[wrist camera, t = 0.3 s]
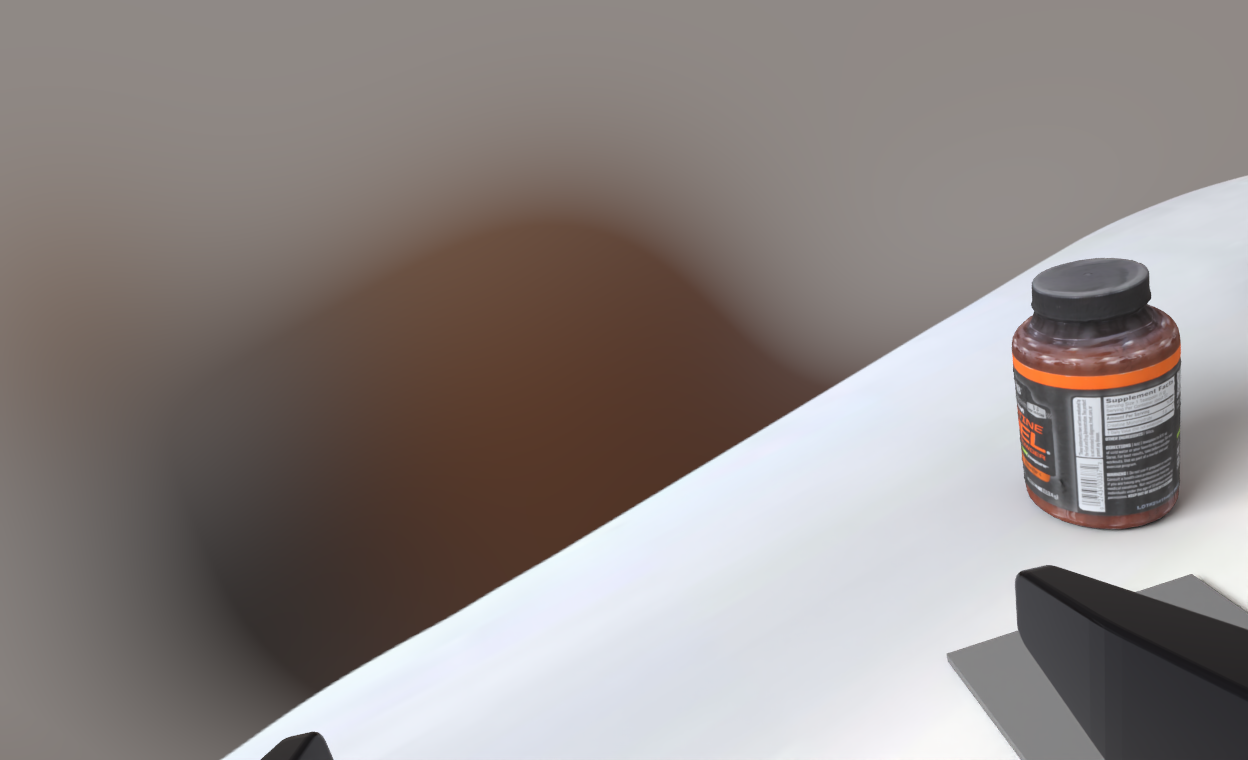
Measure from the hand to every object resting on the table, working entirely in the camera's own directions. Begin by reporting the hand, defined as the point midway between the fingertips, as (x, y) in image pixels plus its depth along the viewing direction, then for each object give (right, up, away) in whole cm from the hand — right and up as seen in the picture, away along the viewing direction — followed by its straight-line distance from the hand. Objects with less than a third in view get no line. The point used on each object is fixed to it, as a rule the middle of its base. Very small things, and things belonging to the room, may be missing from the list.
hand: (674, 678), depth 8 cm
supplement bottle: (+22, -2, +23) cm, 32 cm away
